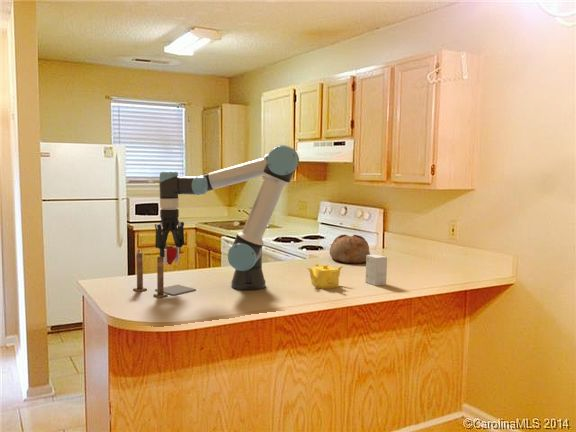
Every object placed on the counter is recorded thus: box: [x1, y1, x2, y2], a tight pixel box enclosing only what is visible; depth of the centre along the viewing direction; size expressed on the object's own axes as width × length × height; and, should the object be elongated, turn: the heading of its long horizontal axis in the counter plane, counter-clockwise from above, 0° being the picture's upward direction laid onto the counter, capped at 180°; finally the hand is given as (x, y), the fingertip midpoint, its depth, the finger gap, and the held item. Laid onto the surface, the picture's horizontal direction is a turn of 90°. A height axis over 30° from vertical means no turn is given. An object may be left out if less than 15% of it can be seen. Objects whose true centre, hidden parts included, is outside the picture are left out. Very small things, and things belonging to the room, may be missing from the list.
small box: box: [365, 254, 388, 287], centre depth 233 cm, size 8×6×13 cm
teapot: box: [306, 262, 344, 290], centre depth 226 cm, size 15×14×10 cm
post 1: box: [132, 252, 148, 293], centre depth 210 cm, size 4×4×16 cm
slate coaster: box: [154, 284, 197, 296], centre depth 212 cm, size 12×12×1 cm
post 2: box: [152, 256, 169, 299], centre depth 202 cm, size 4×4×16 cm
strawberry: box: [165, 241, 177, 266], centre depth 210 cm, size 6×8×10 cm
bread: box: [329, 234, 371, 264], centre depth 291 cm, size 26×23×15 cm
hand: (170, 263), depth 211 cm, fingers closed on strawberry, 6 cm apart
